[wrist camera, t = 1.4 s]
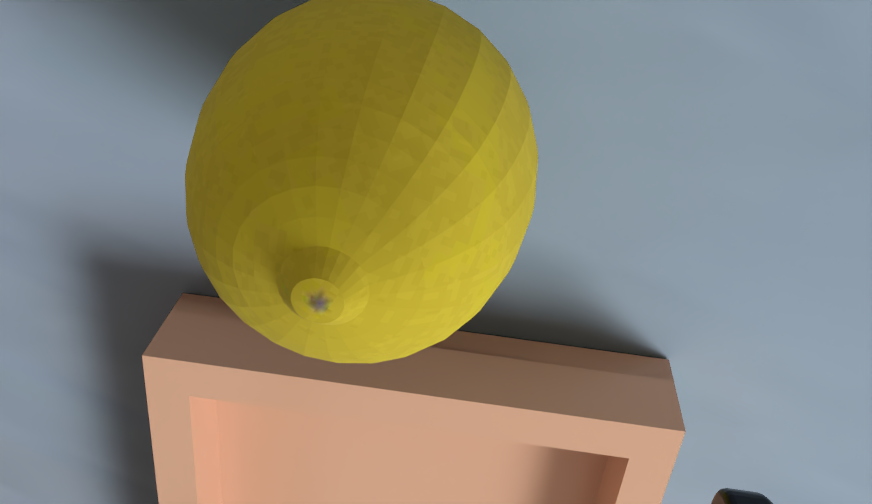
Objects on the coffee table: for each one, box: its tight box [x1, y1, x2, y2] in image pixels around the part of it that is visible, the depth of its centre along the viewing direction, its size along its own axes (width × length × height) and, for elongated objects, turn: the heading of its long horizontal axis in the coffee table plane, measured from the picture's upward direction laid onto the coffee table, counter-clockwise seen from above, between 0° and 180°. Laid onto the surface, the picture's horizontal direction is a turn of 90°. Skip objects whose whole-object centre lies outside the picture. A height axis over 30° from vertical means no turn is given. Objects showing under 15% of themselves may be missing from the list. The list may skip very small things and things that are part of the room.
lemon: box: [185, 0, 538, 363], centre depth 14 cm, size 6×6×8 cm
